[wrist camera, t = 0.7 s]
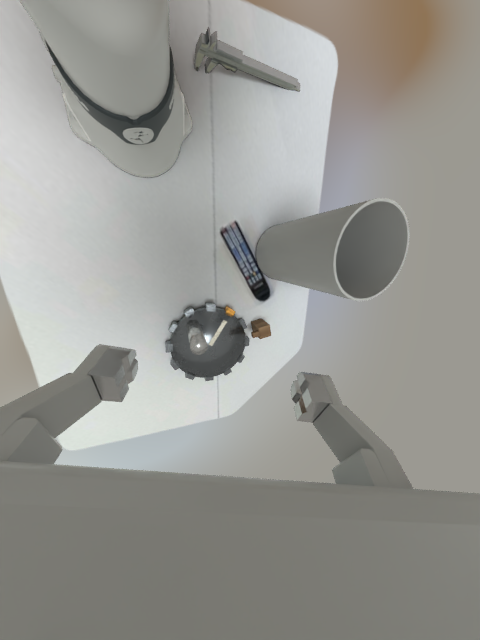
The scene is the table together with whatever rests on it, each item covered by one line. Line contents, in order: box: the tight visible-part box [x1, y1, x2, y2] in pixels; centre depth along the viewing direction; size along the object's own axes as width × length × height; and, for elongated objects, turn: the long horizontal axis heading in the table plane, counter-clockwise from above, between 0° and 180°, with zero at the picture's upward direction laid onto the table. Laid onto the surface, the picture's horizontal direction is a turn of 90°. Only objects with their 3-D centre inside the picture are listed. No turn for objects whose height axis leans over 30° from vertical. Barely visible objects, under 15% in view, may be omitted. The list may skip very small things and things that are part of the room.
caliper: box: [194, 27, 300, 92], centre depth 33 cm, size 20×1×6 cm, turn 93°
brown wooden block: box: [251, 319, 271, 339], centre depth 49 cm, size 3×5×5 cm, turn 101°
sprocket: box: [165, 303, 249, 381], centre depth 42 cm, size 20×20×13 cm
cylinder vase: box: [256, 198, 409, 301], centre depth 36 cm, size 12×12×25 cm
